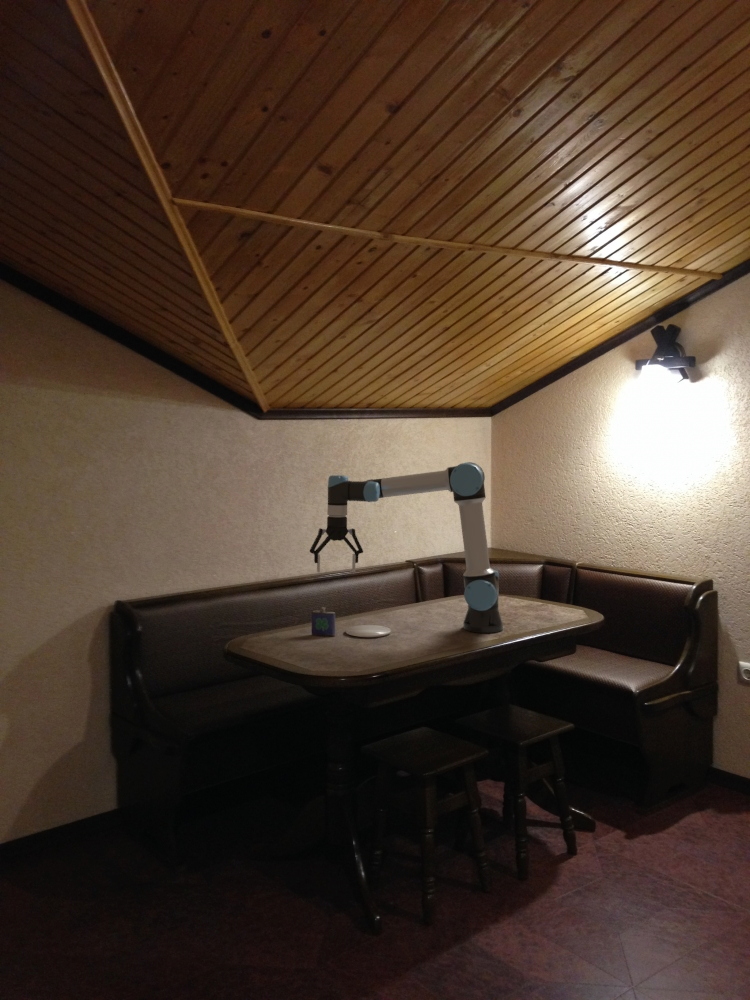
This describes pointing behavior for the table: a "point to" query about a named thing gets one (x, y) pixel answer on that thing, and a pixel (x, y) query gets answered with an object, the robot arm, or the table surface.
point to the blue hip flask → (323, 623)
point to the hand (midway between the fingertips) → (336, 571)
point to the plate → (368, 631)
